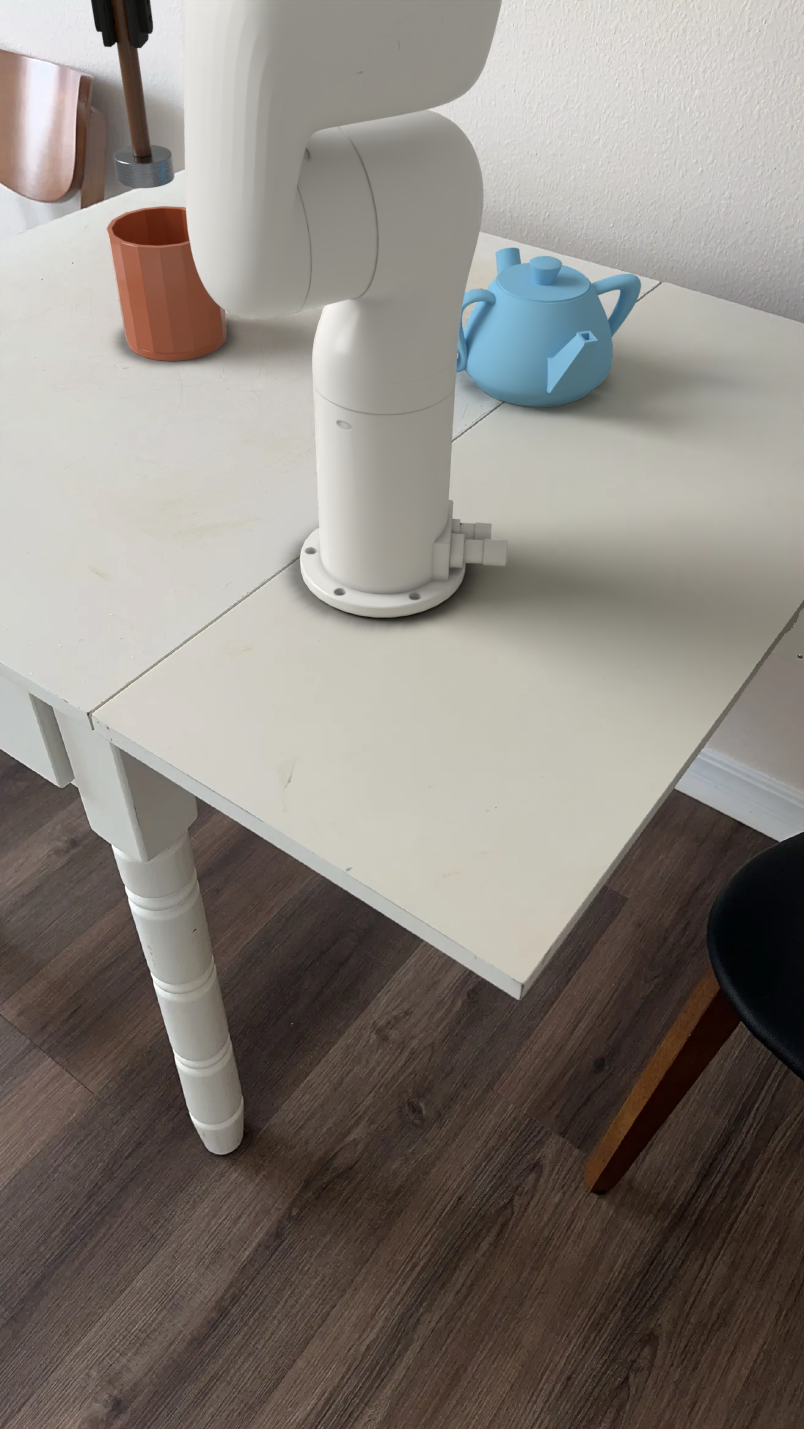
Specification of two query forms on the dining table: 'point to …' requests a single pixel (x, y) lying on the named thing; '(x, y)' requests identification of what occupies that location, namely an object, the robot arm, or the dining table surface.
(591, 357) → the teapot
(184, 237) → the holder
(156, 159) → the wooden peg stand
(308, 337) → the dining table surface
